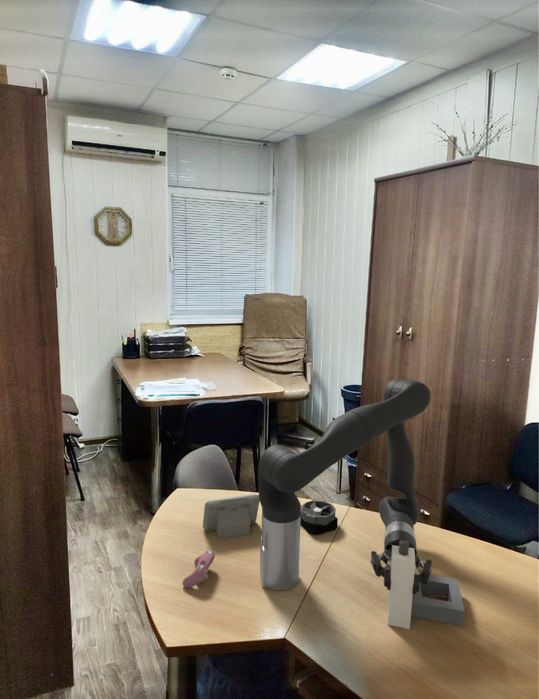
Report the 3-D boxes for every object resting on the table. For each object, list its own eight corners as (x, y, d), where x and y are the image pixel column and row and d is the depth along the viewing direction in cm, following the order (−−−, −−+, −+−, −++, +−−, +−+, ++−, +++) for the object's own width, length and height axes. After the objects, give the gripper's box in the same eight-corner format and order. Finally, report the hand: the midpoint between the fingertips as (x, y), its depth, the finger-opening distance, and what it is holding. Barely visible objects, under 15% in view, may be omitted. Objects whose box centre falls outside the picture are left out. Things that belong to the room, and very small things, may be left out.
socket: (463, 625, 106) (464, 611, 106) (410, 616, 109) (411, 602, 108) (456, 592, 117) (457, 579, 116) (408, 584, 119) (409, 571, 119)
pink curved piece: (196, 596, 116) (209, 574, 114) (179, 586, 116) (192, 564, 115) (209, 571, 126) (221, 550, 124) (194, 561, 126) (205, 540, 124)
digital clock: (257, 520, 147) (258, 487, 145) (261, 537, 138) (261, 502, 137) (202, 523, 145) (202, 489, 143) (202, 540, 136) (202, 504, 134)
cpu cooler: (324, 497, 151) (342, 512, 142) (323, 514, 152) (341, 530, 143) (294, 503, 147) (311, 519, 138) (293, 521, 148) (310, 538, 139)
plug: (409, 628, 105) (416, 550, 102) (387, 624, 106) (393, 546, 103) (408, 614, 109) (414, 538, 106) (387, 610, 110) (392, 535, 107)
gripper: (371, 525, 121) (368, 566, 104) (432, 533, 117) (439, 577, 101) (369, 553, 122) (366, 598, 106) (429, 562, 119) (436, 610, 102)
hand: (401, 588), depth 103 cm, fingers closed on plug, 4 cm apart
